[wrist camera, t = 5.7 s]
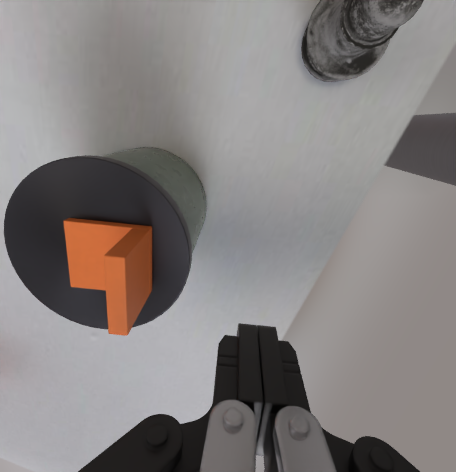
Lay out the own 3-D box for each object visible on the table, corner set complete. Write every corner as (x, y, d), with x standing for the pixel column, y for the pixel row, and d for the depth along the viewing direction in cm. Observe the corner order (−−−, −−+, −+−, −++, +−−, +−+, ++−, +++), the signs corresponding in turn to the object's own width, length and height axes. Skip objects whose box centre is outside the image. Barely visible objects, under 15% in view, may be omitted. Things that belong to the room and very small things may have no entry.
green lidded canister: (213, 150, 27) (194, 168, 16) (205, 262, 32) (185, 338, 20) (90, 138, 27) (-15, 146, 16) (98, 251, 32) (19, 320, 20)
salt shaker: (323, -14, 23) (403, -150, 11) (386, 25, 23) (520, -66, 12) (284, 64, 25) (321, 14, 13) (344, 98, 25) (426, 77, 14)
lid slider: (152, 226, 17) (124, 257, 13) (152, 290, 19) (127, 336, 15) (68, 217, 17) (15, 246, 13) (75, 282, 19) (29, 326, 15)
